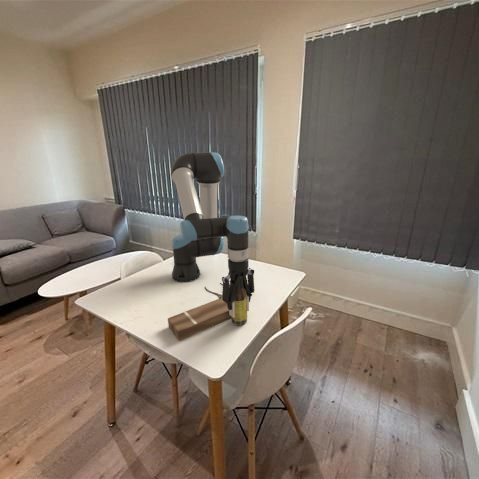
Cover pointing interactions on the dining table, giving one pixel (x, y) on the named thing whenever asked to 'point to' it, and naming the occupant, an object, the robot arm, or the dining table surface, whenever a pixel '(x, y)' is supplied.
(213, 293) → the pliers
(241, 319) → the sauce bottle
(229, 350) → the dining table surface
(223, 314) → the walnut plank
